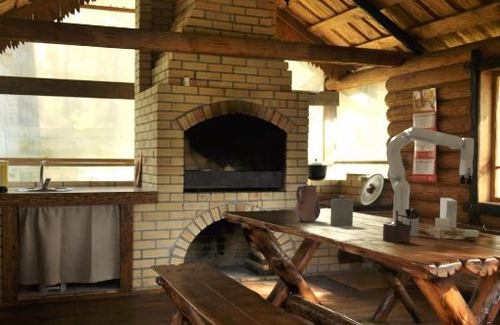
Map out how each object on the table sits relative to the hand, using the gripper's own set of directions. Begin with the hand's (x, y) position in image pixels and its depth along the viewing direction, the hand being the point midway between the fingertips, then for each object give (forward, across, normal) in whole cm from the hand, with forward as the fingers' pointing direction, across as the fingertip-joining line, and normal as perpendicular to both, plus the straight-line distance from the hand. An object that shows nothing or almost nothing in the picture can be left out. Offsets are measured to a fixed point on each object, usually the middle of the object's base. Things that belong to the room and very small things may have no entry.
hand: (465, 184), depth 359 cm
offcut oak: (+31, +30, -21) cm, 48 cm away
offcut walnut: (+28, +30, -21) cm, 46 cm away
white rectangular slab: (+30, +20, -21) cm, 42 cm away
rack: (+30, +25, -21) cm, 45 cm away
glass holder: (+31, +27, -43) cm, 60 cm away
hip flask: (+31, -14, -75) cm, 83 cm away
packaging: (+30, -5, -8) cm, 32 cm away
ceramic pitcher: (+32, -34, -96) cm, 107 cm away
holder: (+30, +22, -7) cm, 38 cm away
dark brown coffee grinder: (+31, +54, -56) cm, 84 cm away
